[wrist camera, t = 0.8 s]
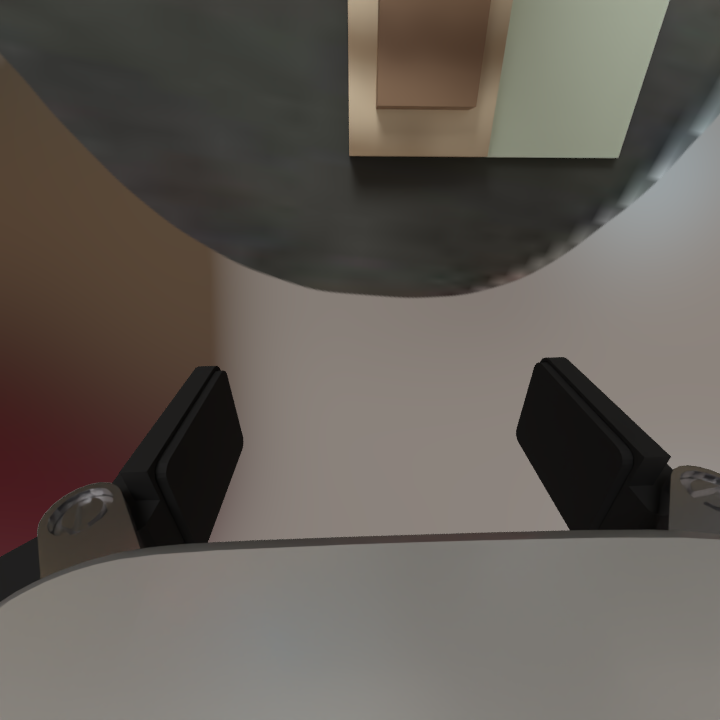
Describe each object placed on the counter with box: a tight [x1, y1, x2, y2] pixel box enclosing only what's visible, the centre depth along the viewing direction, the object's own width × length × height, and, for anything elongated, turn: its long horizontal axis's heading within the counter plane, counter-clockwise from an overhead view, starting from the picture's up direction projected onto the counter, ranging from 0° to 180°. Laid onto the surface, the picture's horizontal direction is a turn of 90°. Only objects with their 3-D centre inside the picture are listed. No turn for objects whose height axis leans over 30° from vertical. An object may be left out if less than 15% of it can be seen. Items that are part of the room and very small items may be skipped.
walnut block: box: [376, 0, 491, 110], centre depth 23 cm, size 8×7×2 cm
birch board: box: [348, 0, 513, 157], centre depth 25 cm, size 14×11×2 cm
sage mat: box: [487, 0, 669, 158], centre depth 26 cm, size 14×12×1 cm
